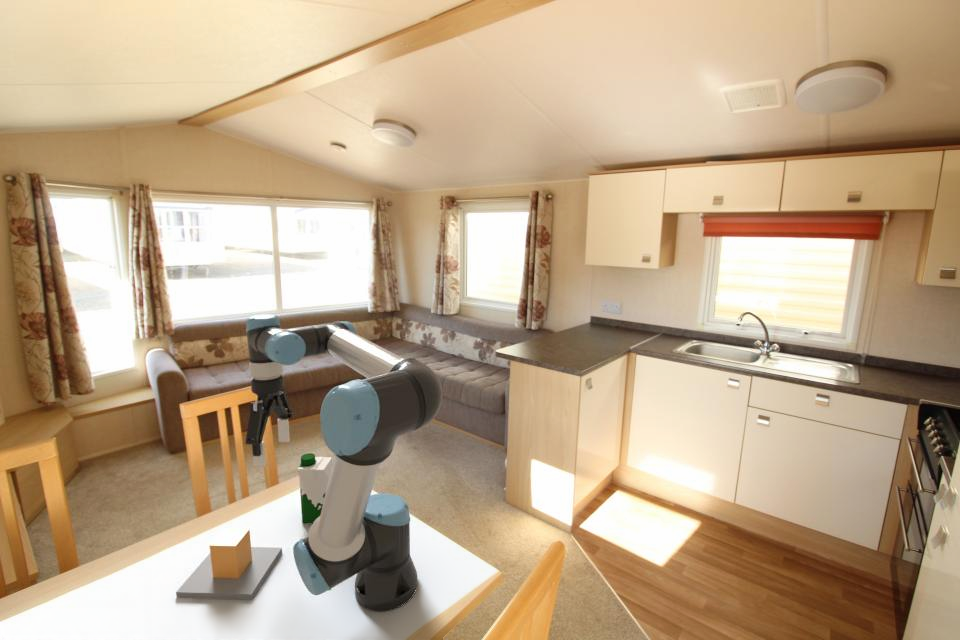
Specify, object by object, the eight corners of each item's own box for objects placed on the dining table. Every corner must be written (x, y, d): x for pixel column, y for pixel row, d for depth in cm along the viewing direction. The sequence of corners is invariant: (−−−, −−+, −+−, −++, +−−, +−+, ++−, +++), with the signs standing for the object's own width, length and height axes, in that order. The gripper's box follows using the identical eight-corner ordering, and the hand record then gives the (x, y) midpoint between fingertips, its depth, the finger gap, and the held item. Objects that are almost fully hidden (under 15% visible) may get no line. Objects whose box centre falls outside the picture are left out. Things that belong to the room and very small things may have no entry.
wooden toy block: (252, 559, 117) (249, 529, 115) (238, 578, 111) (235, 546, 109) (227, 559, 117) (224, 528, 115) (213, 577, 111) (209, 545, 109)
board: (282, 552, 122) (280, 526, 120) (251, 599, 106) (249, 570, 105) (216, 551, 122) (213, 524, 120) (176, 597, 106) (172, 568, 105)
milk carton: (309, 507, 142) (305, 449, 138) (337, 508, 142) (335, 450, 138) (297, 525, 133) (293, 463, 129) (328, 526, 133) (324, 464, 129)
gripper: (275, 361, 126) (280, 432, 130) (223, 392, 101) (232, 478, 105) (301, 362, 126) (305, 432, 130) (256, 393, 101) (263, 478, 105)
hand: (272, 453), depth 117 cm, fingers open, 13 cm apart
